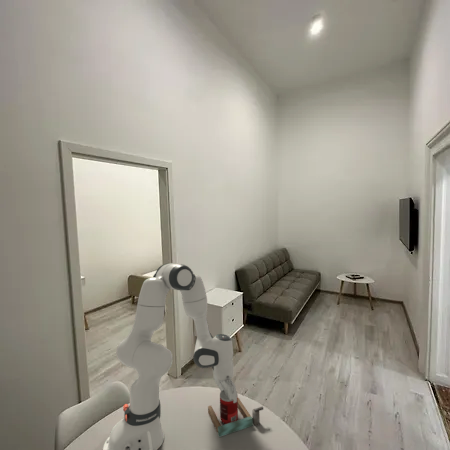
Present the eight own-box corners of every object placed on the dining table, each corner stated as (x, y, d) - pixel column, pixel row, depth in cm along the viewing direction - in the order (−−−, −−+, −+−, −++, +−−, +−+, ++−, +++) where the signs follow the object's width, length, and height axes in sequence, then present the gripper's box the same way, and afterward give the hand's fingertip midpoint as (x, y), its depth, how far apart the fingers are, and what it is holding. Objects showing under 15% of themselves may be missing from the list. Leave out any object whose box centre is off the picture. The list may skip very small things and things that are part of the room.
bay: (219, 438, 102) (219, 423, 102) (208, 412, 116) (207, 399, 116) (265, 423, 109) (264, 409, 109) (248, 400, 124) (248, 388, 124)
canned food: (239, 413, 115) (239, 389, 115) (235, 427, 107) (235, 401, 107) (222, 410, 117) (222, 386, 117) (218, 424, 109) (217, 398, 109)
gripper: (240, 381, 110) (241, 414, 110) (222, 359, 129) (222, 387, 128) (226, 385, 107) (227, 418, 107) (210, 362, 126) (211, 390, 126)
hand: (224, 401), depth 118 cm, fingers closed
